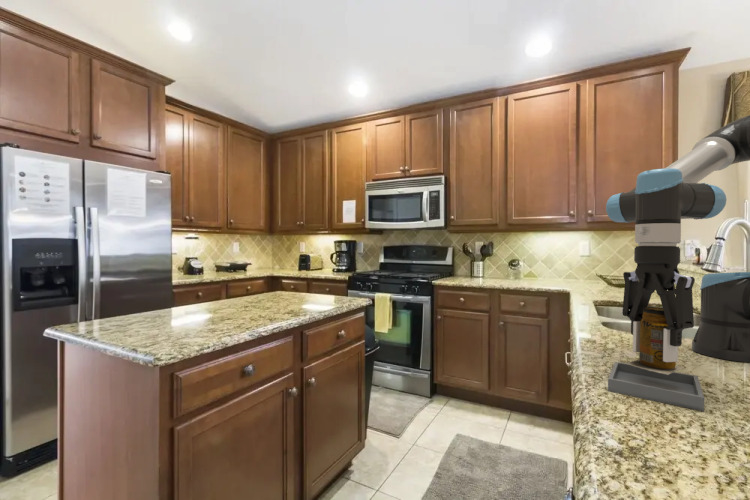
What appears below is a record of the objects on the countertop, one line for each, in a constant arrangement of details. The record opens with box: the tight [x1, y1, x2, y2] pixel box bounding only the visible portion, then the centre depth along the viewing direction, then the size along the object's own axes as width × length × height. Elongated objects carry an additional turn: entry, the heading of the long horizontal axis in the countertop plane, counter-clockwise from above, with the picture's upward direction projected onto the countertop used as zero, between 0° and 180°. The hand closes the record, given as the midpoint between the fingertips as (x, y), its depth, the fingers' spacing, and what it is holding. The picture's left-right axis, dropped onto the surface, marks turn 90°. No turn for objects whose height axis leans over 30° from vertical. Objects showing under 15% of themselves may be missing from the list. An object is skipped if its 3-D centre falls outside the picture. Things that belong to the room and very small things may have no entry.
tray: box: [607, 361, 705, 412], centre depth 76 cm, size 15×15×2 cm
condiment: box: [625, 306, 685, 375], centre depth 75 cm, size 7×8×12 cm
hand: (654, 356), depth 76 cm, fingers closed on condiment, 6 cm apart
